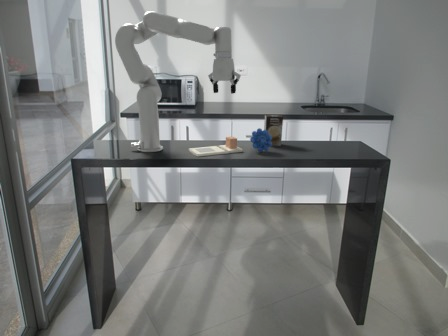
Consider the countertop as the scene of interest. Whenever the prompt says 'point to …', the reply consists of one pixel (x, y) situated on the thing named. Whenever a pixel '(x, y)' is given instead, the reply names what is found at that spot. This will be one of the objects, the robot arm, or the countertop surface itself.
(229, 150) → the stub
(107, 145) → the countertop surface
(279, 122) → the coffee box
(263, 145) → the grapes
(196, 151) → the cream panel with window
